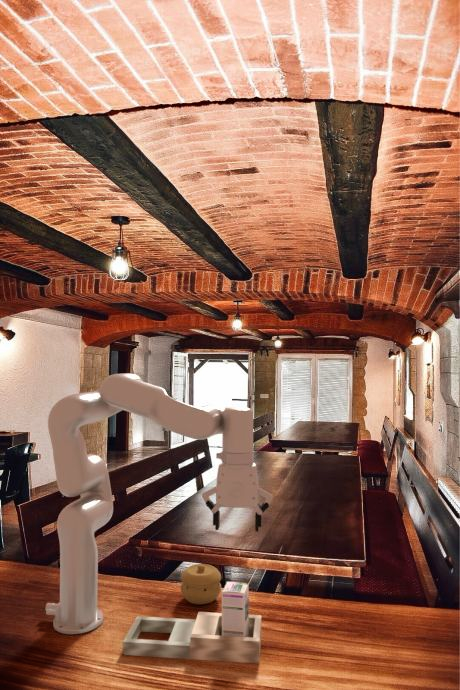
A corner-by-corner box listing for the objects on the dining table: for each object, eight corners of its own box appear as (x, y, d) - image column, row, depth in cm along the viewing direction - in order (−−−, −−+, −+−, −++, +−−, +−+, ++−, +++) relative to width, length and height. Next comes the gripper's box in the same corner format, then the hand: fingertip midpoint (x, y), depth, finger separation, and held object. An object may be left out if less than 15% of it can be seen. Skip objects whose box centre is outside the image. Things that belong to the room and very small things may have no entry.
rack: (122, 654, 121) (122, 633, 121) (136, 627, 133) (137, 608, 133) (259, 663, 118) (259, 641, 118) (261, 635, 130) (261, 615, 130)
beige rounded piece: (215, 612, 141) (215, 575, 142) (174, 607, 144) (174, 570, 144) (225, 593, 153) (226, 559, 153) (188, 588, 156) (188, 555, 156)
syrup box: (245, 655, 121) (245, 593, 121) (220, 652, 122) (221, 590, 122) (249, 642, 127) (249, 582, 127) (225, 639, 128) (226, 580, 128)
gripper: (200, 460, 123) (199, 533, 122) (273, 462, 121) (272, 535, 121) (204, 454, 130) (204, 522, 130) (273, 456, 129) (273, 525, 128)
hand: (237, 529), depth 125 cm, fingers open, 9 cm apart
